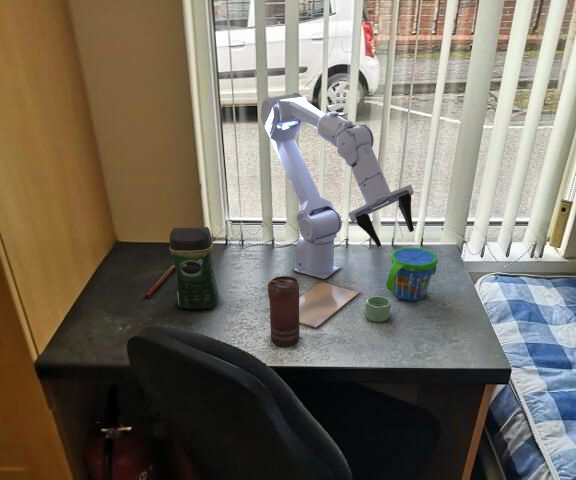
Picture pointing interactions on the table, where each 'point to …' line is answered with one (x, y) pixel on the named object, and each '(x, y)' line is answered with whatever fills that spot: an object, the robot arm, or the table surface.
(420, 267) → the snack cup
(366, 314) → the bowl
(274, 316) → the can
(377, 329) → the table surface
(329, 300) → the mat
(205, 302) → the coffee jar
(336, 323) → the table surface
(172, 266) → the pencil
